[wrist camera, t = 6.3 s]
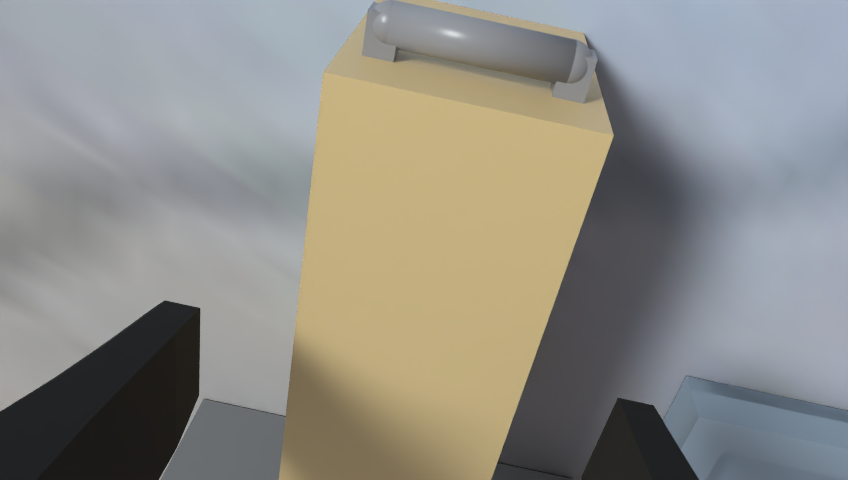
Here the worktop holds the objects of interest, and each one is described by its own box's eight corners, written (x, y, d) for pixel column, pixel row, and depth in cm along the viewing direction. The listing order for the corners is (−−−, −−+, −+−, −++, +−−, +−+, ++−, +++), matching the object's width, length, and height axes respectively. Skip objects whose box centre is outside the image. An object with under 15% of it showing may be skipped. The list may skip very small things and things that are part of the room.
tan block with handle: (596, -11, 14) (633, 77, 10) (477, 379, 20) (464, 554, 15) (391, -56, 14) (329, 11, 10) (332, 348, 20) (275, 512, 15)
